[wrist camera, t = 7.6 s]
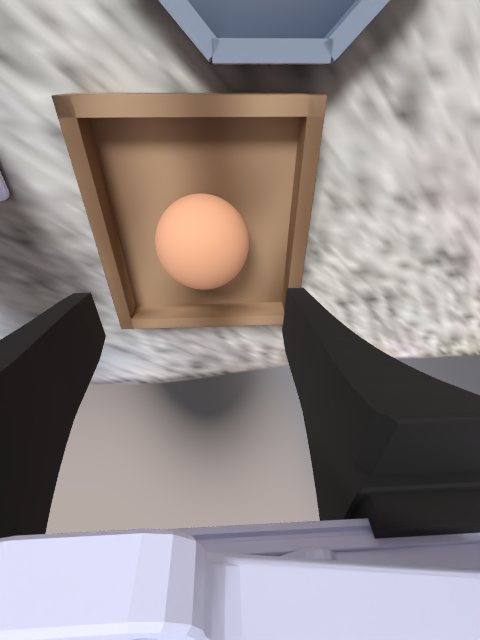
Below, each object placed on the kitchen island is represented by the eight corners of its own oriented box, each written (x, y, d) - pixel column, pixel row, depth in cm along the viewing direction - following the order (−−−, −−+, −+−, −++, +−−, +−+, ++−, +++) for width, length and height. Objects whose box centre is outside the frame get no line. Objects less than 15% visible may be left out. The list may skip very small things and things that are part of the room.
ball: (167, 263, 20) (155, 308, 16) (156, 181, 17) (138, 212, 13) (244, 262, 21) (250, 307, 17) (247, 182, 18) (256, 213, 14)
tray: (130, 307, 23) (121, 329, 21) (74, 93, 16) (51, 95, 13) (289, 302, 24) (295, 324, 22) (313, 92, 16) (327, 95, 14)
